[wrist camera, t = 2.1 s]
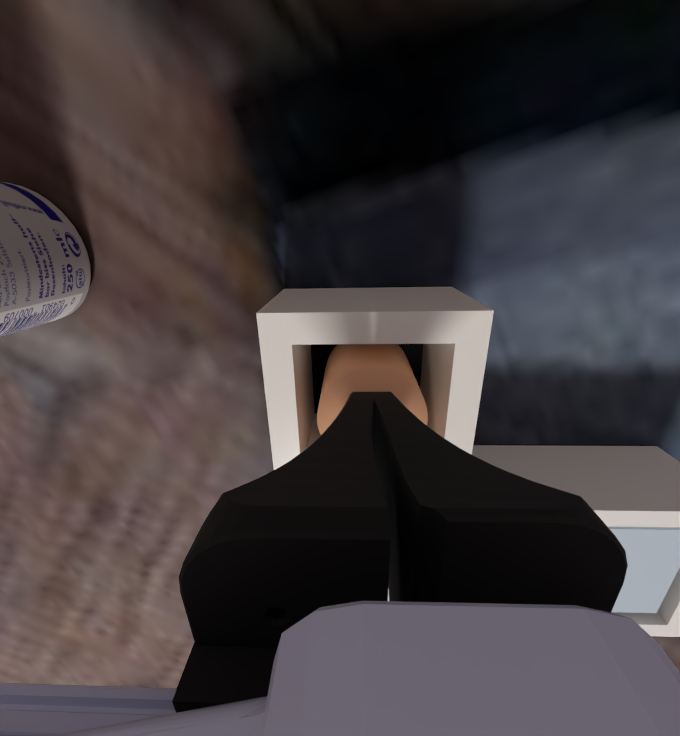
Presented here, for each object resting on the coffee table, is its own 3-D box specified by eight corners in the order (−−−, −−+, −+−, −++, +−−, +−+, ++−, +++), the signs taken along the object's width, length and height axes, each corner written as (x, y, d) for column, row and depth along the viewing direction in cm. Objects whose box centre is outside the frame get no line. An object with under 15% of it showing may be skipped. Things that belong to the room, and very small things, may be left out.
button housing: (452, 286, 14) (494, 310, 10) (437, 431, 17) (464, 498, 13) (284, 288, 14) (256, 312, 10) (295, 431, 17) (276, 496, 13)
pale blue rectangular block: (631, 471, 17) (808, 625, 10) (603, 546, 19) (737, 715, 12) (373, 470, 17) (386, 615, 11) (371, 542, 19) (381, 703, 13)
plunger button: (411, 332, 14) (432, 368, 10) (406, 408, 15) (423, 465, 12) (324, 332, 14) (314, 368, 10) (327, 408, 16) (319, 464, 12)
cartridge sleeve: (656, 446, 17) (750, 512, 13) (613, 555, 19) (679, 636, 16) (377, 444, 17) (384, 507, 13) (374, 551, 20) (379, 629, 16)
